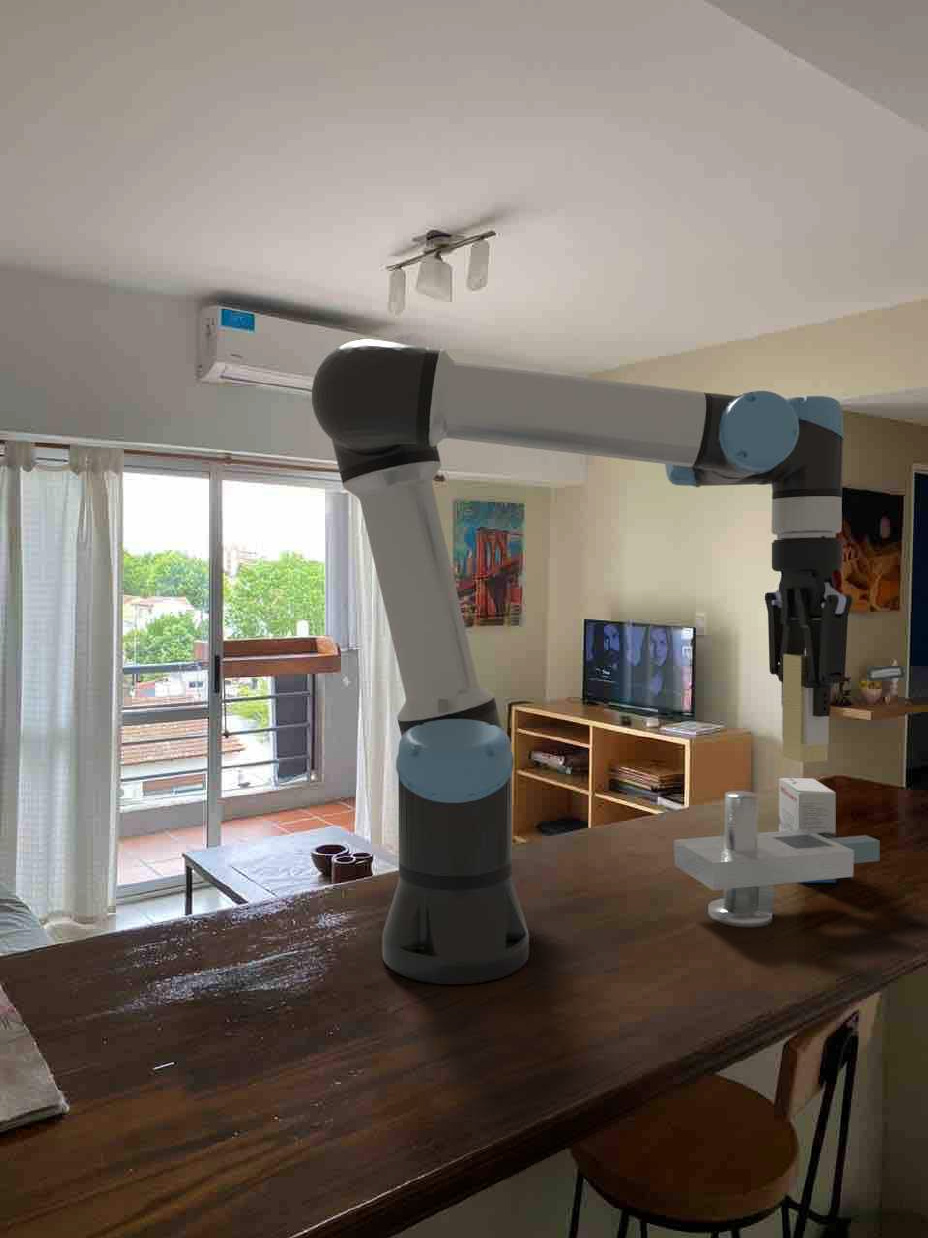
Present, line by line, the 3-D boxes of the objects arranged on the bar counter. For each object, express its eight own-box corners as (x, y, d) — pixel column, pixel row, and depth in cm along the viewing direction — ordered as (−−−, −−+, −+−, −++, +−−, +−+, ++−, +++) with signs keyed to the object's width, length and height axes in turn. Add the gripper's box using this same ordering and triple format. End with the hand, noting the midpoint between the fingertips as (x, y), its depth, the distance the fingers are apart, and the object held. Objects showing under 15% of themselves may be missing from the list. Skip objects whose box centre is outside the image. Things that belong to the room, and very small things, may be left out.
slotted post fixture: (712, 936, 101) (713, 808, 101) (673, 907, 110) (674, 789, 109) (897, 915, 107) (900, 794, 107) (847, 889, 116) (849, 777, 115)
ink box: (837, 884, 118) (839, 791, 117) (797, 884, 118) (799, 791, 117) (813, 863, 127) (814, 776, 126) (776, 862, 127) (777, 776, 126)
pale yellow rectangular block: (800, 762, 106) (801, 656, 105) (782, 756, 109) (783, 653, 109) (827, 760, 107) (828, 655, 106) (809, 754, 110) (810, 653, 109)
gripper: (884, 533, 100) (881, 752, 101) (793, 539, 116) (791, 727, 117) (822, 533, 98) (820, 756, 99) (738, 539, 114) (737, 731, 115)
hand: (804, 740), depth 108 cm, fingers closed on pale yellow rectangular block, 3 cm apart
